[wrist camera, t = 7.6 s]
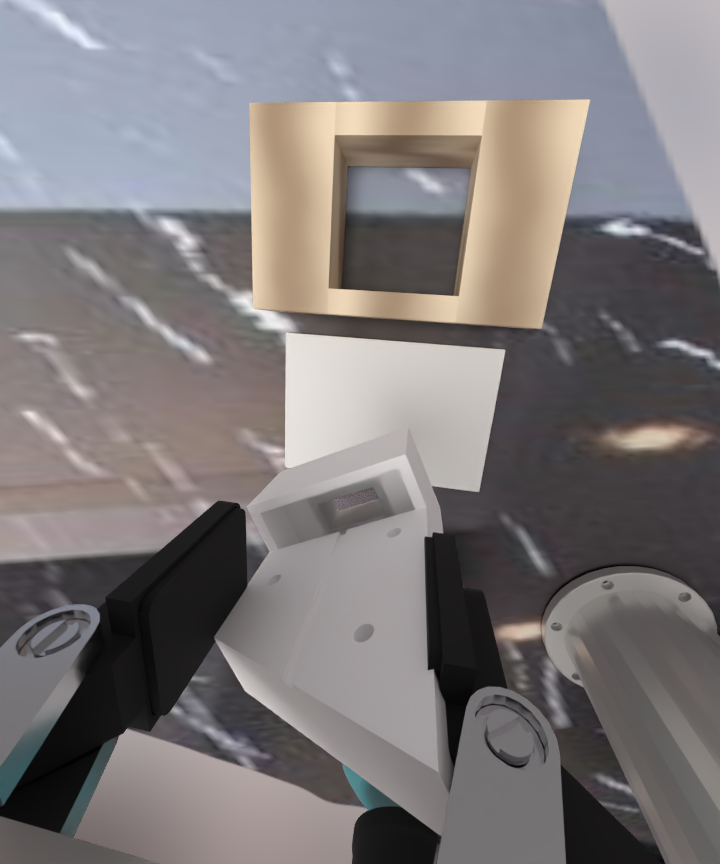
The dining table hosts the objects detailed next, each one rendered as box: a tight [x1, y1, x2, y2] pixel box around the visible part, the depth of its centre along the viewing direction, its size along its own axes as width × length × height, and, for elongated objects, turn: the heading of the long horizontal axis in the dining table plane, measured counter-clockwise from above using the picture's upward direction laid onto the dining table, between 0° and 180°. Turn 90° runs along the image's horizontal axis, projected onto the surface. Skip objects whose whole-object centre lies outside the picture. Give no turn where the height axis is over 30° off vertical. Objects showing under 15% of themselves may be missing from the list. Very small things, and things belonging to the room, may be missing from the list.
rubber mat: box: [285, 333, 505, 492], centre depth 27 cm, size 16×11×1 cm
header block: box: [250, 100, 590, 329], centre depth 22 cm, size 18×11×4 cm, turn 86°
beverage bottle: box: [342, 763, 439, 864], centre depth 22 cm, size 6×7×20 cm
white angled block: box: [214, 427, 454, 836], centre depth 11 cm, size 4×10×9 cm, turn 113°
